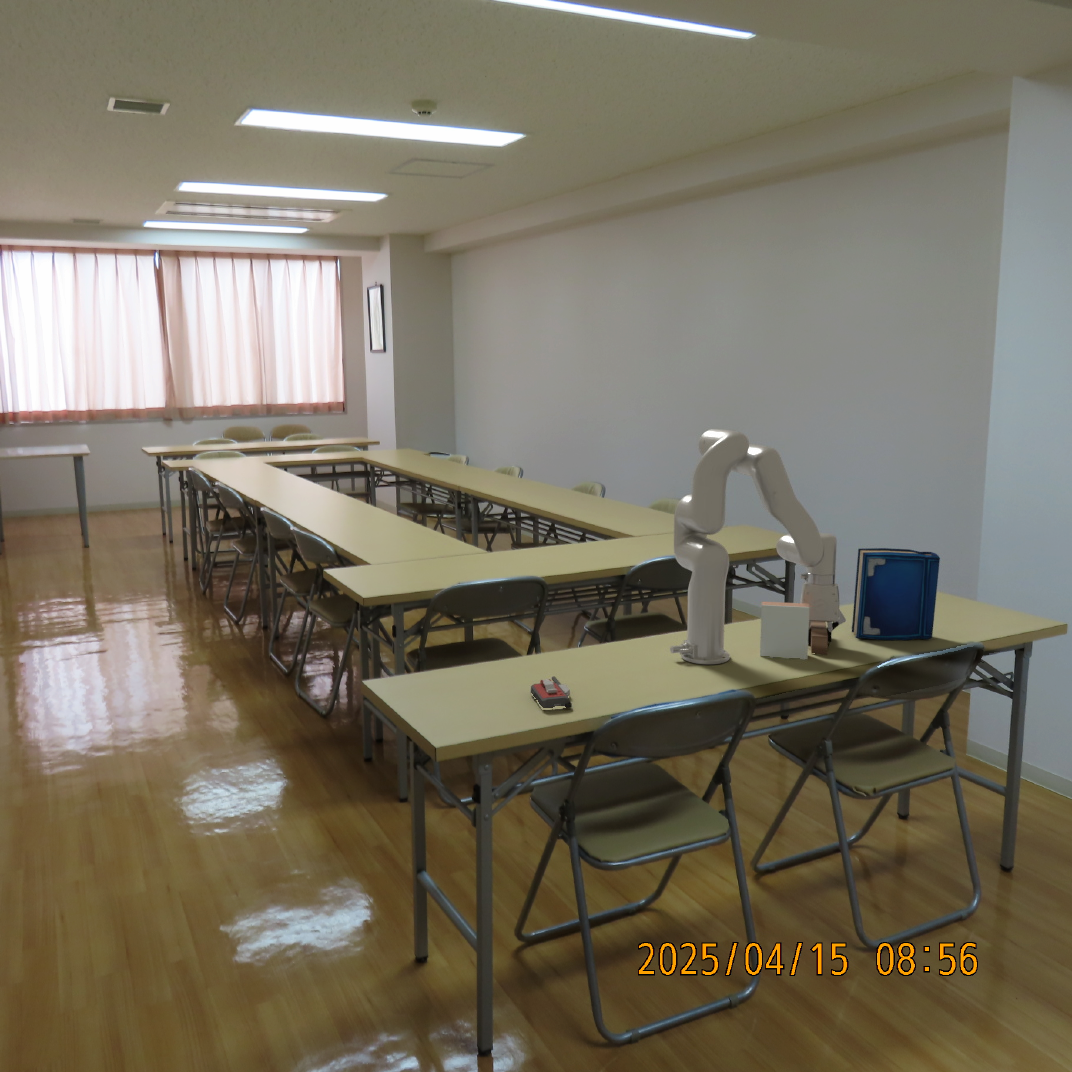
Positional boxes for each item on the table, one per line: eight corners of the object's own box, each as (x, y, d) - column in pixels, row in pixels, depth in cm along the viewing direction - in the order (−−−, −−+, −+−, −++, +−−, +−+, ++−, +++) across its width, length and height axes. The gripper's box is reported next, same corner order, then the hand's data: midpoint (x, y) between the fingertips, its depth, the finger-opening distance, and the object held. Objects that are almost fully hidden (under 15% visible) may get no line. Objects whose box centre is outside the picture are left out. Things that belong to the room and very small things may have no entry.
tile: (807, 659, 241) (809, 607, 239) (760, 656, 244) (761, 605, 242) (806, 655, 245) (808, 603, 243) (760, 652, 248) (761, 601, 246)
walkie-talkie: (580, 711, 208) (557, 682, 228) (580, 692, 208) (557, 665, 227) (542, 714, 206) (522, 685, 226) (542, 696, 206) (522, 668, 225)
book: (929, 634, 262) (934, 547, 258) (937, 641, 255) (943, 552, 251) (850, 633, 264) (854, 547, 260) (856, 640, 257) (861, 552, 253)
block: (827, 655, 245) (827, 636, 244) (811, 654, 246) (812, 635, 245) (824, 636, 262) (825, 619, 261) (809, 635, 263) (810, 618, 262)
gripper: (788, 580, 249) (786, 646, 252) (854, 583, 245) (851, 649, 248) (788, 574, 256) (786, 638, 259) (852, 577, 252) (849, 641, 255)
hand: (818, 643), depth 254 cm, fingers closed on block, 4 cm apart
